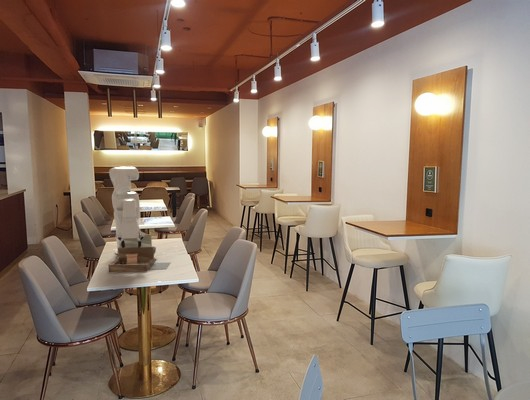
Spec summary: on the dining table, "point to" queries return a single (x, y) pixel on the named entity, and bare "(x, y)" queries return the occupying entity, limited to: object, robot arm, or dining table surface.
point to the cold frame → (143, 256)
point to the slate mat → (160, 266)
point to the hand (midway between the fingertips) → (131, 247)
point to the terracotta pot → (132, 258)
